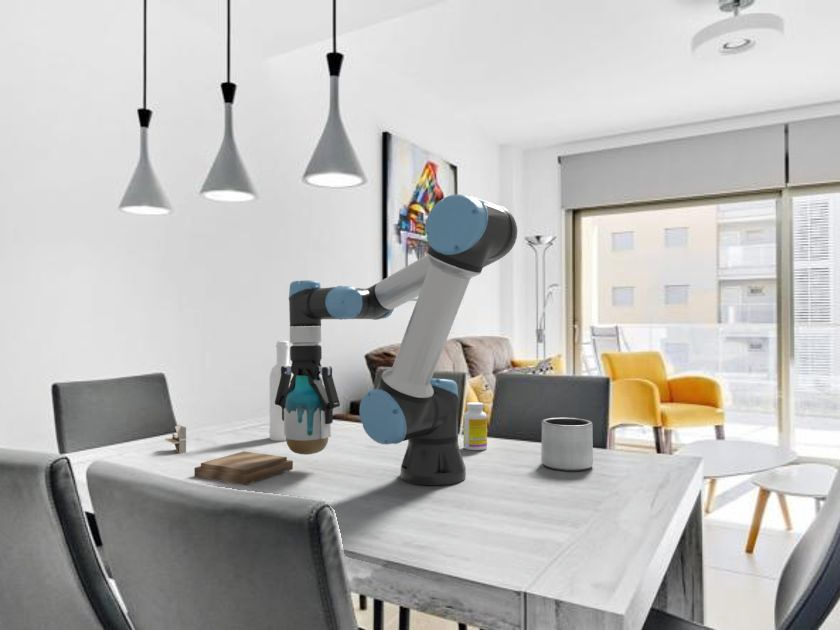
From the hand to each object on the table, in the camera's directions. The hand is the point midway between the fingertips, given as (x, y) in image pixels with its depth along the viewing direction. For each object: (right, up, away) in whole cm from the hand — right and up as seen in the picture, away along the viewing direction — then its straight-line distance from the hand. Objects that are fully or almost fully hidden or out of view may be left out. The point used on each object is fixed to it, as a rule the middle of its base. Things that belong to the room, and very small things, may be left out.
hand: (307, 435), depth 146 cm
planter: (+64, -9, +5) cm, 65 cm away
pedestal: (-15, -9, -1) cm, 17 cm away
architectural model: (-40, -9, +22) cm, 46 cm away
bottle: (-15, -9, +39) cm, 43 cm away
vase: (0, -5, 0) cm, 5 cm away
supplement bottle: (+43, -9, +25) cm, 50 cm away
